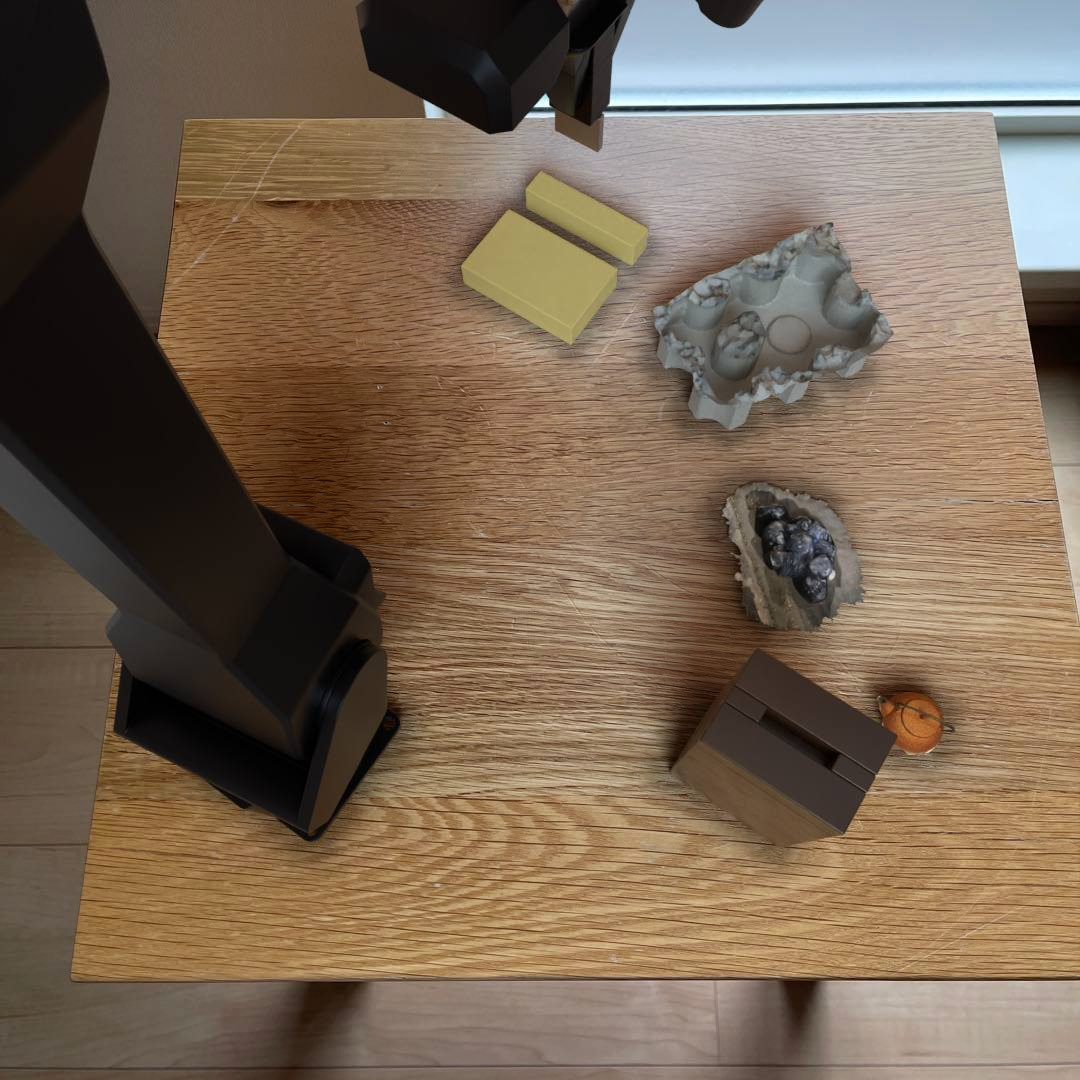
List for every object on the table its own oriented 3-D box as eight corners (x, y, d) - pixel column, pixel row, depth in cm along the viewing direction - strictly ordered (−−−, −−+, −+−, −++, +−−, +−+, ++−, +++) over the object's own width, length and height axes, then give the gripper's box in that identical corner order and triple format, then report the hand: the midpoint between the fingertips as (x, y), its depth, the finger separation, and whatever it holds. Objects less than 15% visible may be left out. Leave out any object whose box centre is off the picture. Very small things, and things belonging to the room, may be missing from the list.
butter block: (571, 345, 50) (571, 328, 48) (463, 283, 51) (460, 265, 49) (616, 286, 51) (618, 268, 49) (509, 227, 52) (508, 208, 51)
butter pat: (632, 266, 51) (634, 247, 50) (525, 208, 53) (524, 188, 51) (646, 247, 52) (649, 228, 50) (541, 190, 53) (540, 170, 52)
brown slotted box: (779, 848, 41) (844, 835, 31) (668, 773, 42) (699, 740, 33) (824, 769, 42) (899, 735, 33) (714, 698, 43) (757, 646, 34)
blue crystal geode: (773, 660, 43) (782, 650, 42) (677, 522, 46) (682, 507, 44) (890, 588, 45) (904, 575, 43) (790, 456, 47) (799, 439, 45)
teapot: (898, 766, 42) (920, 758, 39) (865, 703, 43) (883, 692, 40) (955, 740, 42) (980, 731, 40) (920, 679, 43) (943, 666, 41)
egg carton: (817, 263, 51) (839, 212, 47) (887, 375, 49) (915, 330, 45) (637, 328, 50) (645, 281, 46) (699, 447, 47) (713, 407, 43)
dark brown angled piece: (590, 161, 43) (597, 7, 35) (547, 139, 43) (544, -18, 36) (609, 138, 43) (620, -19, 36) (566, 116, 44) (568, -44, 36)
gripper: (656, -27, 22) (617, 337, 37) (998, -419, 27) (844, 37, 42) (292, -197, 25) (391, 209, 39) (670, -529, 30) (633, -61, 44)
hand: (577, 95), depth 41 cm, fingers closed on dark brown angled piece, 1 cm apart
